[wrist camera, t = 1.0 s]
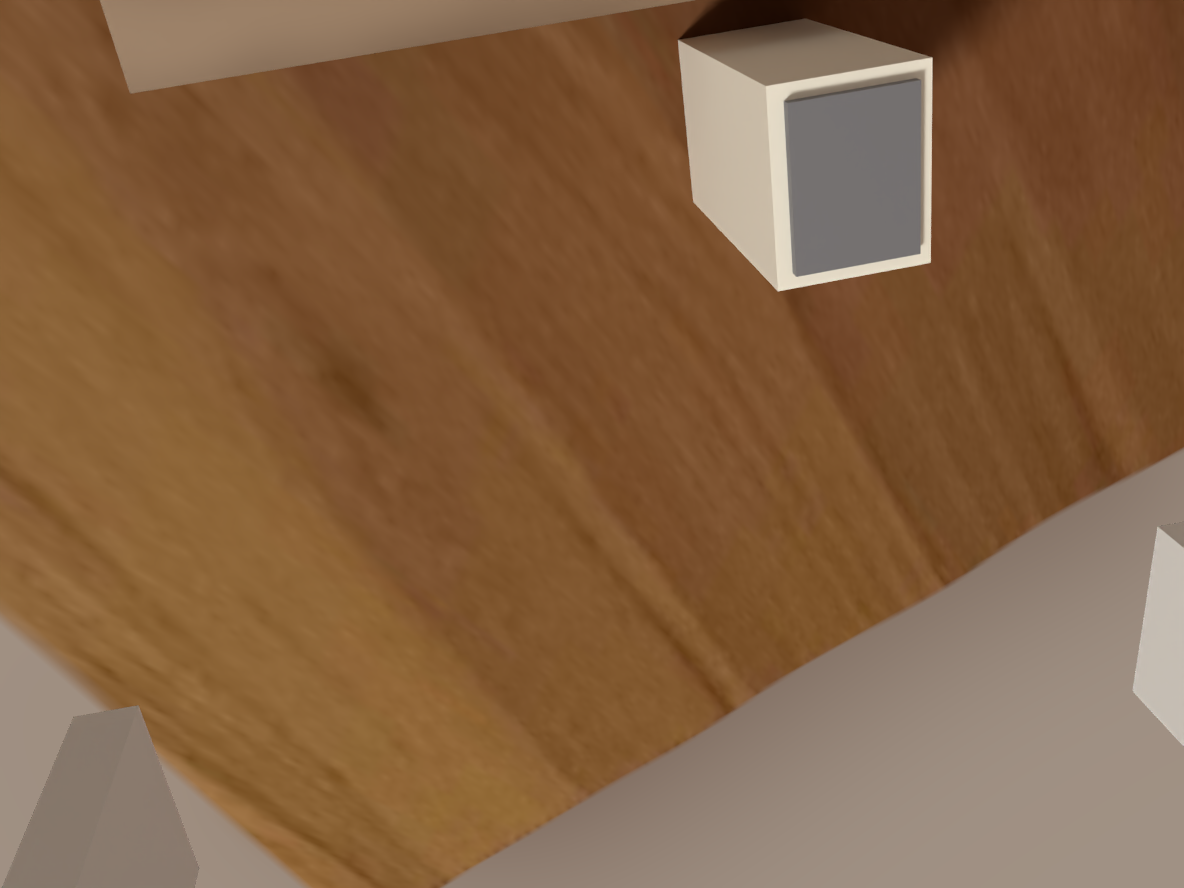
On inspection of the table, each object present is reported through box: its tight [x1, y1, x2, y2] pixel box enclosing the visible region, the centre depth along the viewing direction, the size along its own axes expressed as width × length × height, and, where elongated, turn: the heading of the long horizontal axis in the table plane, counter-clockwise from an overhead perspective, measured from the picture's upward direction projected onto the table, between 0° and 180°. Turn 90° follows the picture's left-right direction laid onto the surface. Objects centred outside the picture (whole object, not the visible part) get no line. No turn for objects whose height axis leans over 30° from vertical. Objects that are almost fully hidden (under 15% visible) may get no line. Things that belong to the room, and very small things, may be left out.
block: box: [678, 18, 932, 291], centre depth 30 cm, size 5×4×9 cm
